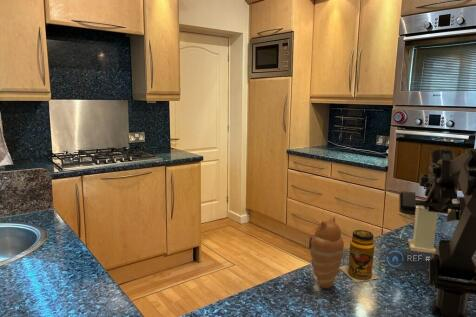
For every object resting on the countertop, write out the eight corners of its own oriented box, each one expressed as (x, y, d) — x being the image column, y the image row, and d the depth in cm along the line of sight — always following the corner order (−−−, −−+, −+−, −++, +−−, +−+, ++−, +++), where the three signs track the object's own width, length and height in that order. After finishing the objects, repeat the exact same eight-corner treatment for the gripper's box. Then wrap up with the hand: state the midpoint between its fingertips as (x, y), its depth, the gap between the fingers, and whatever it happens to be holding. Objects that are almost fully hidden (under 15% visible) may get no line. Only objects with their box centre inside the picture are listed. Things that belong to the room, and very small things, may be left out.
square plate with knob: (435, 253, 109) (437, 240, 109) (411, 250, 112) (412, 236, 111) (431, 244, 116) (433, 231, 115) (407, 241, 118) (409, 228, 117)
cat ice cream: (321, 275, 95) (325, 211, 92) (347, 287, 90) (353, 219, 86) (301, 286, 90) (304, 218, 86) (327, 300, 84) (332, 228, 81)
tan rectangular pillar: (433, 249, 110) (438, 209, 108) (414, 246, 112) (419, 207, 110) (430, 243, 115) (435, 204, 113) (412, 240, 117) (417, 202, 114)
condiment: (356, 282, 92) (359, 239, 90) (337, 267, 100) (340, 227, 98) (379, 279, 94) (383, 236, 92) (359, 264, 102) (363, 224, 100)
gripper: (479, 169, 95) (462, 198, 108) (403, 164, 101) (395, 192, 113) (485, 206, 89) (466, 232, 102) (403, 198, 95) (395, 224, 107)
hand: (429, 218), depth 106 cm, fingers open, 9 cm apart
